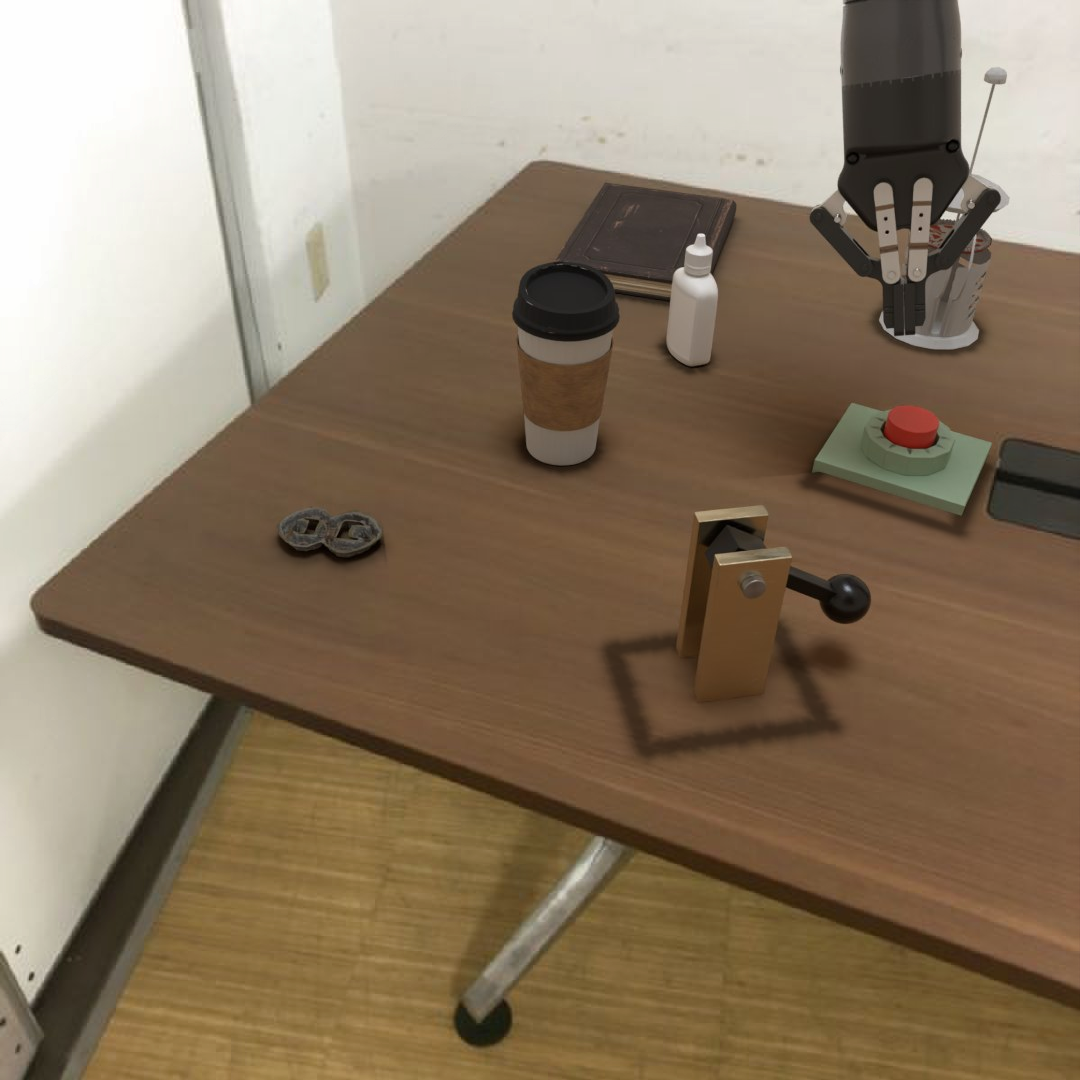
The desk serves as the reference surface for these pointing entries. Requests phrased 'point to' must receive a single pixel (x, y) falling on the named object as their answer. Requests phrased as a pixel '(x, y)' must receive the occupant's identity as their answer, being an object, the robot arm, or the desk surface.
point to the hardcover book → (646, 235)
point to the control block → (903, 461)
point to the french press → (953, 313)
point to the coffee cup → (564, 357)
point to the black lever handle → (805, 580)
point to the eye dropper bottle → (693, 307)
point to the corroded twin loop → (330, 531)
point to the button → (911, 427)
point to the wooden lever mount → (731, 606)
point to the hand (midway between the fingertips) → (904, 333)
